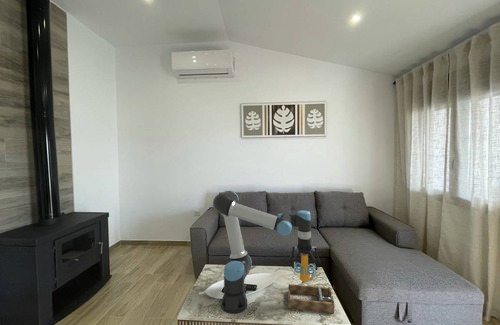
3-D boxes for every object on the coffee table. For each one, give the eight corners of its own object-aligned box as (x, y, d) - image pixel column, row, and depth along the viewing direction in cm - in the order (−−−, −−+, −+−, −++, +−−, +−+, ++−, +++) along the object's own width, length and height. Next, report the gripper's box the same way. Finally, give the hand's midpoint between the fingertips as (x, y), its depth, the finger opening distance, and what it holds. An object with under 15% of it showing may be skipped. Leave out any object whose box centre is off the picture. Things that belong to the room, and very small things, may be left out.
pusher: (320, 309, 128) (320, 299, 128) (318, 295, 141) (318, 286, 141) (334, 311, 127) (334, 301, 127) (331, 296, 140) (331, 287, 139)
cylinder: (299, 285, 129) (299, 259, 129) (291, 276, 139) (291, 252, 139) (318, 282, 133) (318, 256, 132) (309, 273, 143) (309, 249, 142)
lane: (287, 307, 130) (287, 297, 130) (288, 291, 146) (288, 282, 146) (334, 313, 125) (334, 302, 125) (329, 295, 141) (329, 286, 141)
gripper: (284, 238, 134) (284, 275, 134) (325, 240, 130) (326, 279, 130) (284, 234, 141) (285, 269, 142) (324, 236, 137) (324, 272, 137)
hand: (304, 274), depth 136 cm, fingers closed on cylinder, 11 cm apart
